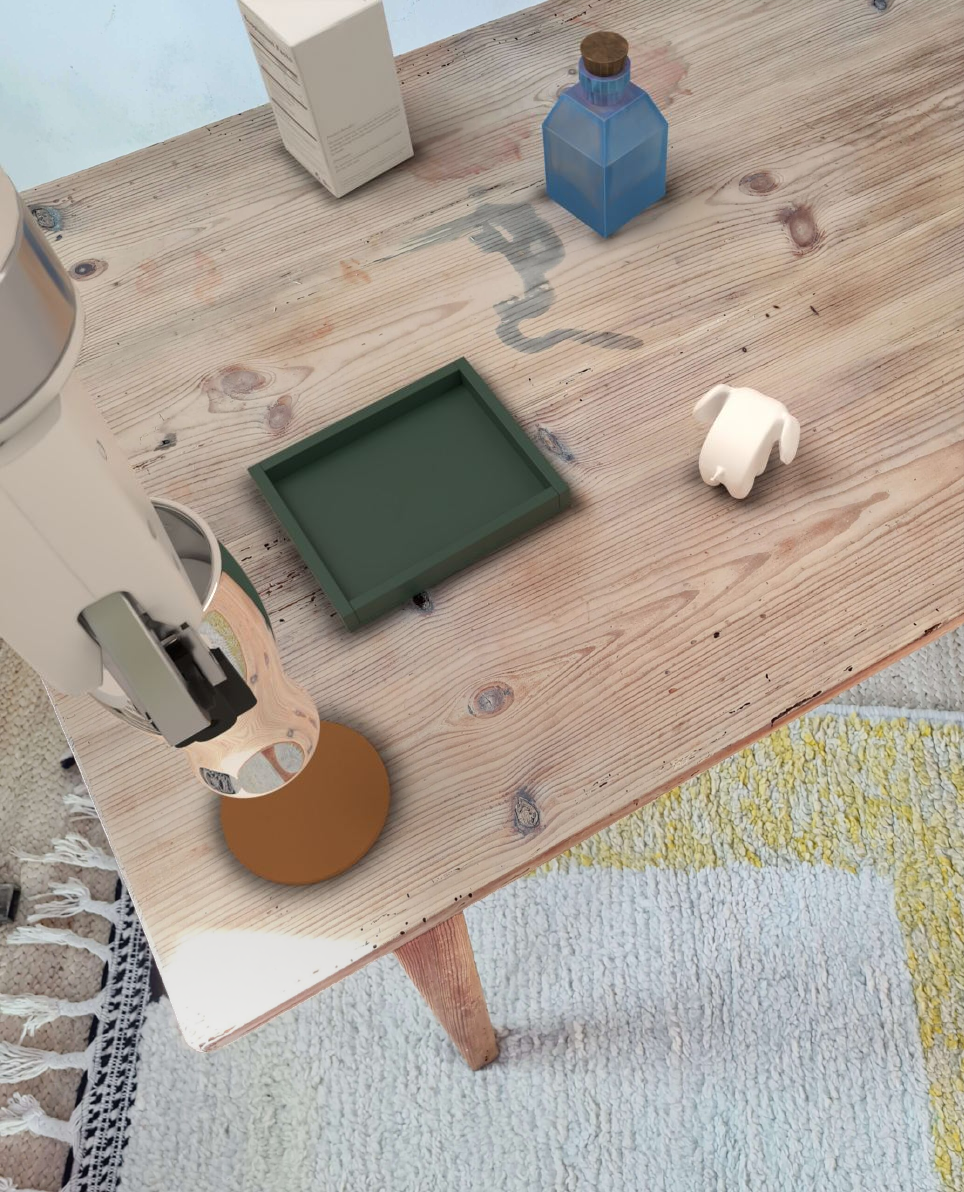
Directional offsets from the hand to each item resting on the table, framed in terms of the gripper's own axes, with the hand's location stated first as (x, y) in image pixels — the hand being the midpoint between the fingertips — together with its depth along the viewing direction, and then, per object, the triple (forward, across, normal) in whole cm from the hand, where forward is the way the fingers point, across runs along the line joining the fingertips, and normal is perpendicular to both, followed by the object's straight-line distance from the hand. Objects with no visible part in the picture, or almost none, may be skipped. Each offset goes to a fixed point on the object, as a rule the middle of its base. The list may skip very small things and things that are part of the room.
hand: (172, 640), depth 40 cm
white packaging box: (+20, -44, +26) cm, 55 cm away
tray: (+20, -14, +14) cm, 29 cm away
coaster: (+20, 0, 0) cm, 20 cm away
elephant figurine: (+20, -4, +32) cm, 39 cm away
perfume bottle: (+20, -29, +40) cm, 53 cm away
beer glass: (+10, 0, 0) cm, 10 cm away
